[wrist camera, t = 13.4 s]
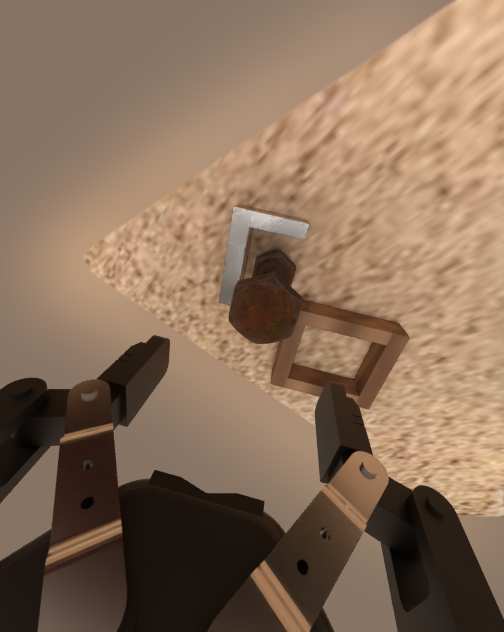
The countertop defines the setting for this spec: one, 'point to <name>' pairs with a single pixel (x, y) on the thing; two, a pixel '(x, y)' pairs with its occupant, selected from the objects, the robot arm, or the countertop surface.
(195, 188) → the countertop surface
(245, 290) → the bolt
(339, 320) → the square frame block
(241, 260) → the block
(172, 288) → the countertop surface
